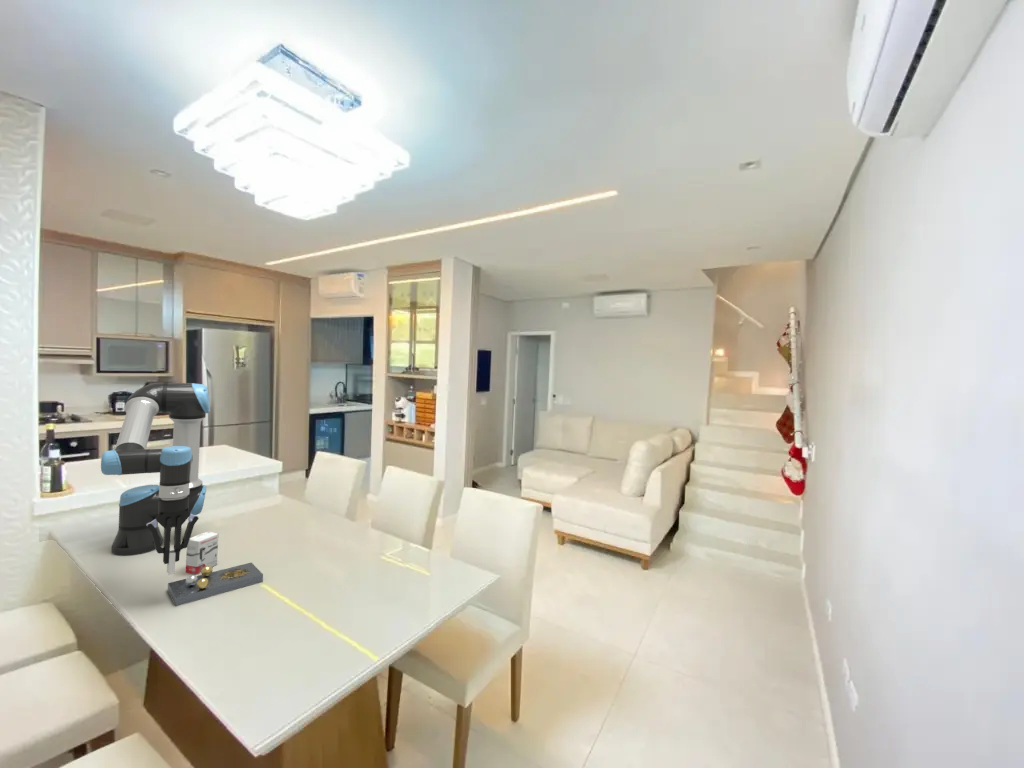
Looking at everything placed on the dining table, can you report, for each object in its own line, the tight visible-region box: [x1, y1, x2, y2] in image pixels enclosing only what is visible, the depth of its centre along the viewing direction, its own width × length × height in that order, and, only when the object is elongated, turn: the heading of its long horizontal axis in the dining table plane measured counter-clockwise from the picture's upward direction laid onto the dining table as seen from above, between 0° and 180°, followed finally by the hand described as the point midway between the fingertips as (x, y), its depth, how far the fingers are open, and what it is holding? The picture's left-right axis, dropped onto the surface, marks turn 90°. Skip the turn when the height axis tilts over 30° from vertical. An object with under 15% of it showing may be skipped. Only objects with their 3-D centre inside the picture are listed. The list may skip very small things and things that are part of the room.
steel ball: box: [185, 574, 198, 586], centre depth 139 cm, size 3×3×3 cm
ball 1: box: [200, 566, 214, 576], centre depth 146 cm, size 3×3×3 cm
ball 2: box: [196, 578, 209, 589], centre depth 138 cm, size 3×3×3 cm
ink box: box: [185, 531, 219, 575], centre depth 155 cm, size 9×5×12 cm, turn 168°
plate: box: [167, 561, 264, 607], centre depth 145 cm, size 24×12×2 cm, turn 137°
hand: (170, 572), depth 135 cm, fingers closed
